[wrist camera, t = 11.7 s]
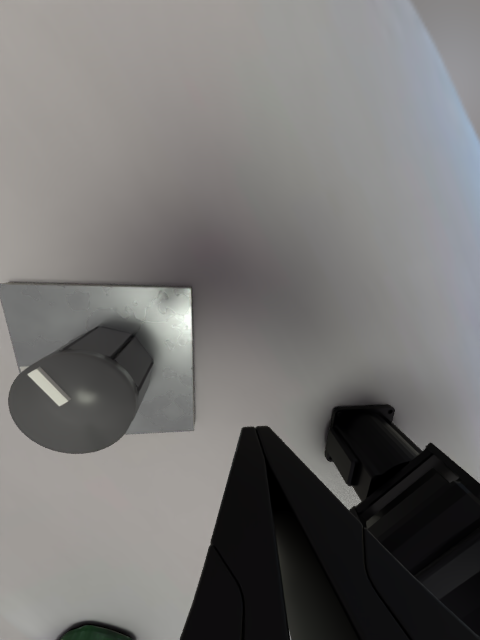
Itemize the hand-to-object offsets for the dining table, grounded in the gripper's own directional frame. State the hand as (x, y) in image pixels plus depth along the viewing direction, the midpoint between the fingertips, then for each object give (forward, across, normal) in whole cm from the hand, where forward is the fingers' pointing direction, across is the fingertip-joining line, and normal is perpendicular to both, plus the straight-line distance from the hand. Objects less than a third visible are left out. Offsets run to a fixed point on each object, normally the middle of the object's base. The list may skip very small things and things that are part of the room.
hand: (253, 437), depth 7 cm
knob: (+11, +9, +3) cm, 15 cm away
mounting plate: (+12, +10, +4) cm, 16 cm away
